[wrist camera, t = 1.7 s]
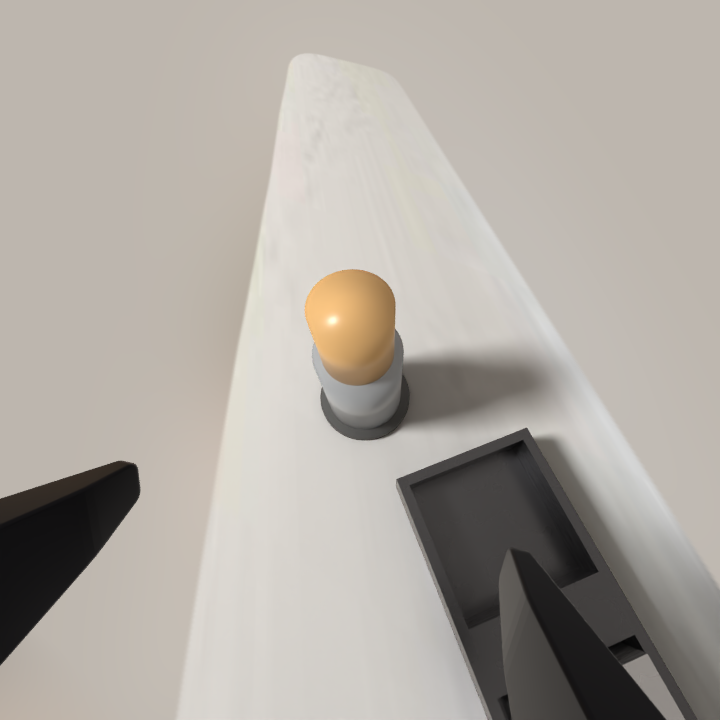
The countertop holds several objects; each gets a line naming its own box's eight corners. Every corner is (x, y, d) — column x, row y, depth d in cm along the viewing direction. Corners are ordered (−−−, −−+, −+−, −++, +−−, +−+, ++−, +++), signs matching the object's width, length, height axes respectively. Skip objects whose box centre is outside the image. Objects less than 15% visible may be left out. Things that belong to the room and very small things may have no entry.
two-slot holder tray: (558, 899, 15) (604, 993, 12) (396, 485, 22) (396, 476, 19) (722, 813, 16) (806, 880, 12) (513, 439, 23) (533, 422, 20)
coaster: (337, 453, 23) (336, 452, 23) (310, 374, 25) (309, 372, 25) (423, 420, 24) (423, 418, 23) (389, 346, 26) (388, 343, 26)
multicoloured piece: (342, 440, 23) (312, 373, 14) (320, 376, 25) (281, 281, 16) (411, 414, 23) (425, 332, 14) (384, 353, 25) (381, 247, 16)
